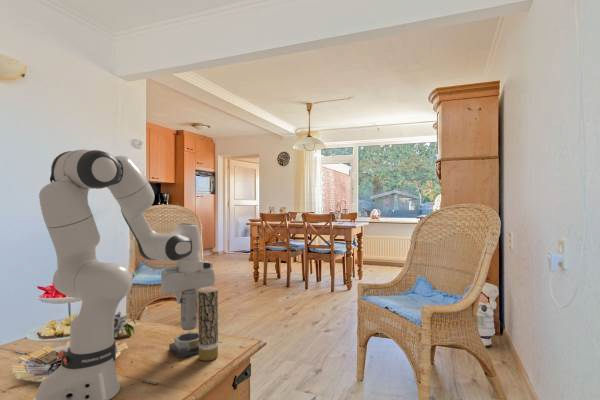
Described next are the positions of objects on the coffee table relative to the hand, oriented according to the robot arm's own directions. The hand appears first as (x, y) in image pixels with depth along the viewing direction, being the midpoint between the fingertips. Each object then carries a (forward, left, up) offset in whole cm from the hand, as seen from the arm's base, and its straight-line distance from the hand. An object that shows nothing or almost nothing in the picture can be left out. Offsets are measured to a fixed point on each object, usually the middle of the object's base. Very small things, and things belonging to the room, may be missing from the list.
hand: (189, 301), depth 131 cm
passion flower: (-17, +34, -19) cm, 42 cm away
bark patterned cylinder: (+3, -11, -19) cm, 22 cm away
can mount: (0, 0, -19) cm, 19 cm away
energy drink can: (0, 0, -11) cm, 11 cm away
